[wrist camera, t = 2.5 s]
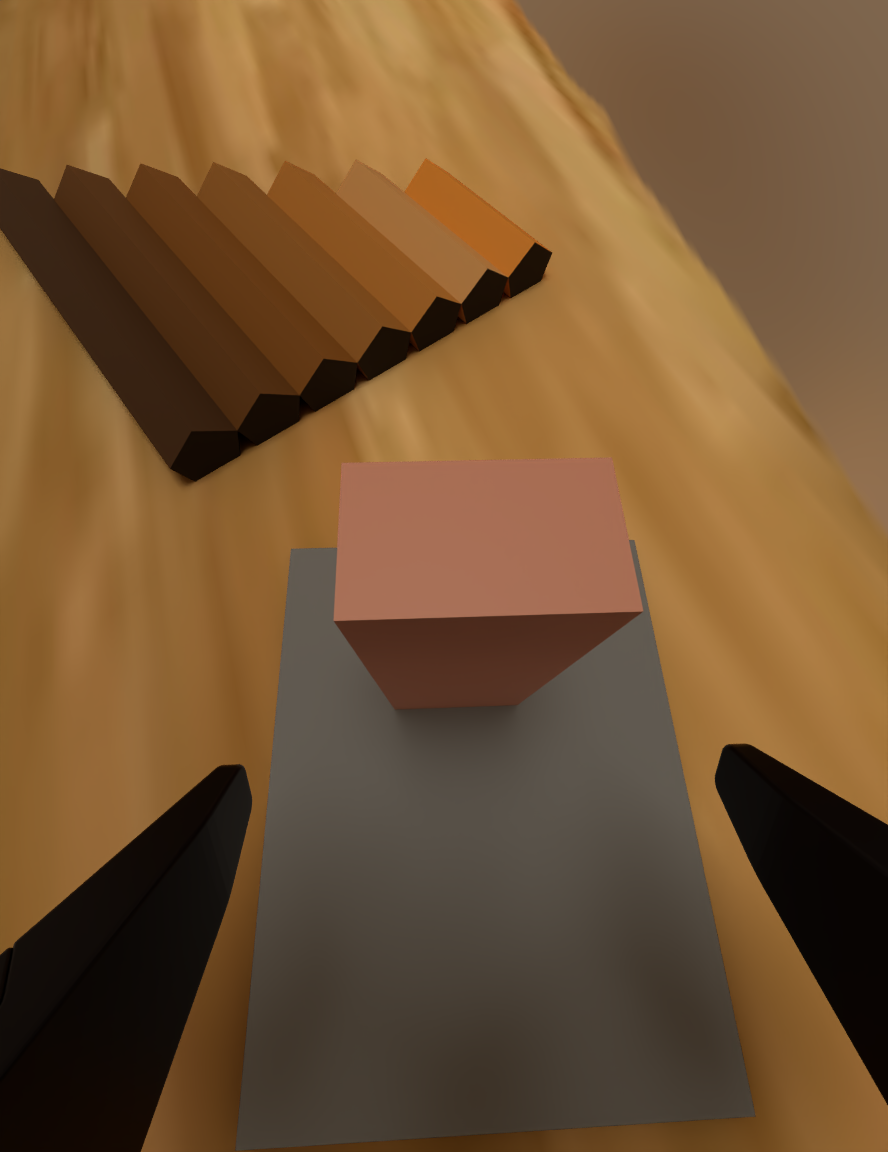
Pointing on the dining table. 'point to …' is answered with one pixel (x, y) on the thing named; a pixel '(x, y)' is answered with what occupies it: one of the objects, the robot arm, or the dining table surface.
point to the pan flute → (258, 288)
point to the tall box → (479, 574)
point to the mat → (479, 906)
